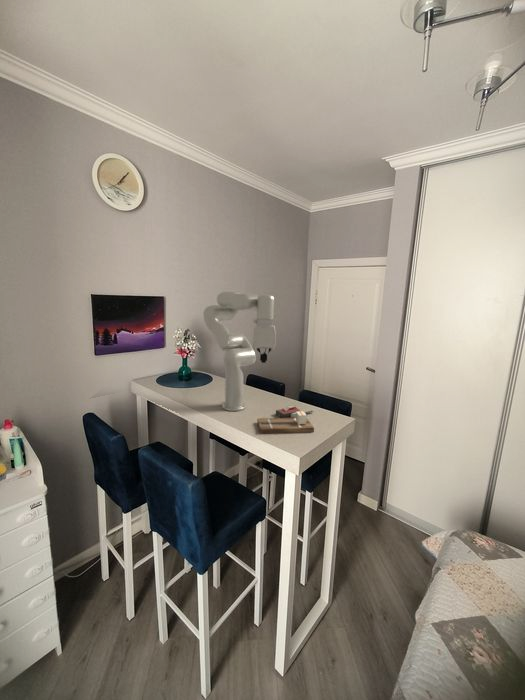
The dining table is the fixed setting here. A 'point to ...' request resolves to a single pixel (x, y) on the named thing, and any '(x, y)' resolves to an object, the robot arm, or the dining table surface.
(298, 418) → the fader
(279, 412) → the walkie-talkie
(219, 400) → the dining table surface
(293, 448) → the dining table surface
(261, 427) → the brown board with strips
